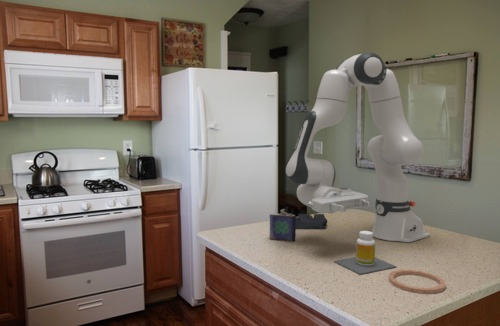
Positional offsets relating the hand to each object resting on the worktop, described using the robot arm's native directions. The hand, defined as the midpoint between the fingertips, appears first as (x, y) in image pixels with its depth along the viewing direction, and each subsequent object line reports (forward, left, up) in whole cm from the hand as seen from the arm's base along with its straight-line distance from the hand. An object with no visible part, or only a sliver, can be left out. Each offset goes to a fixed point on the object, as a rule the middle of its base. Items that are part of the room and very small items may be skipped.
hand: (356, 207), depth 127 cm
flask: (+9, -29, -17) cm, 35 cm away
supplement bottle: (0, +5, -17) cm, 18 cm away
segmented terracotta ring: (-3, +22, -17) cm, 28 cm away
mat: (0, +5, -17) cm, 18 cm away
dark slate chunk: (-9, -45, -18) cm, 49 cm away
